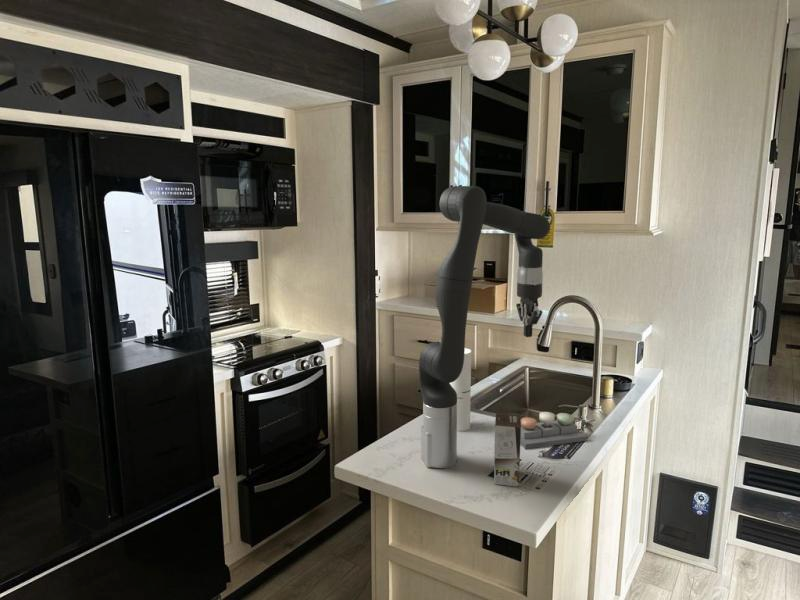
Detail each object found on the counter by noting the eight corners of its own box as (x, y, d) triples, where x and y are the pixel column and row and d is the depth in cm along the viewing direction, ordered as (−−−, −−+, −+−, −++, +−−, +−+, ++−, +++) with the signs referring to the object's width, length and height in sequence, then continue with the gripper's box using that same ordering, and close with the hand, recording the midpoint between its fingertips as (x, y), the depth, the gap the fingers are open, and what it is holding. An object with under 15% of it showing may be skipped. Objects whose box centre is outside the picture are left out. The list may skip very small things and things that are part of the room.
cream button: (543, 429, 163) (544, 418, 163) (536, 423, 167) (536, 412, 167) (556, 427, 164) (557, 416, 164) (549, 421, 168) (549, 411, 168)
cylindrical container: (474, 428, 172) (475, 352, 167) (453, 432, 170) (454, 355, 165) (463, 420, 179) (464, 346, 174) (443, 423, 176) (444, 349, 171)
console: (525, 449, 158) (525, 438, 158) (507, 431, 170) (507, 421, 169) (586, 440, 163) (587, 430, 163) (565, 424, 175) (565, 414, 174)
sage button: (561, 430, 165) (562, 419, 164) (553, 424, 169) (554, 413, 168) (574, 428, 166) (575, 417, 165) (566, 422, 170) (567, 412, 169)
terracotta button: (525, 435, 162) (525, 424, 161) (518, 429, 166) (518, 418, 165) (538, 433, 163) (539, 422, 162) (531, 427, 167) (531, 416, 167)
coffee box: (519, 487, 138) (521, 427, 135) (493, 484, 139) (494, 425, 136) (518, 469, 147) (520, 412, 144) (494, 467, 148) (495, 411, 145)
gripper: (508, 278, 172) (507, 332, 175) (528, 285, 159) (526, 342, 163) (530, 277, 174) (528, 330, 177) (552, 284, 161) (549, 340, 165)
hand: (527, 336), depth 170 cm, fingers closed
